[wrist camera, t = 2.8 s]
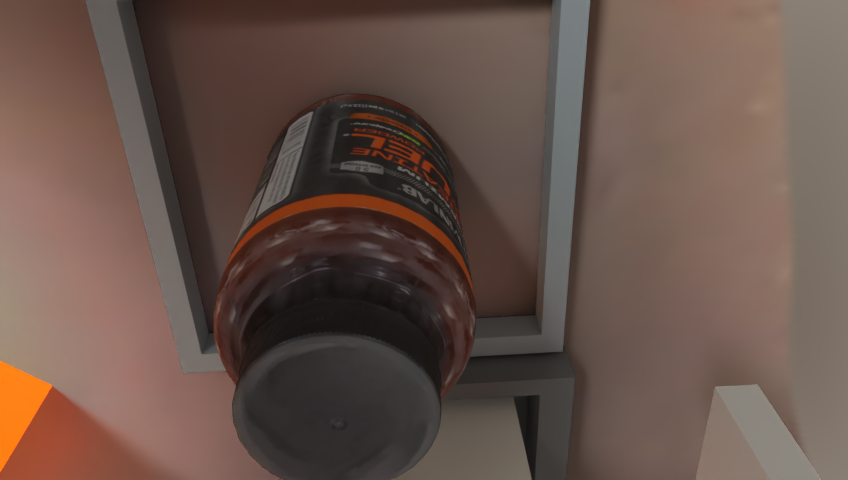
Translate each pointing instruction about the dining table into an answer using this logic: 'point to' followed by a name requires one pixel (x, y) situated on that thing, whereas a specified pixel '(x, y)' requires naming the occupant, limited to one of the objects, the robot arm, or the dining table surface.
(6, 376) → the orange juice
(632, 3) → the dining table surface
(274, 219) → the supplement bottle
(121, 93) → the grey flat square frame
